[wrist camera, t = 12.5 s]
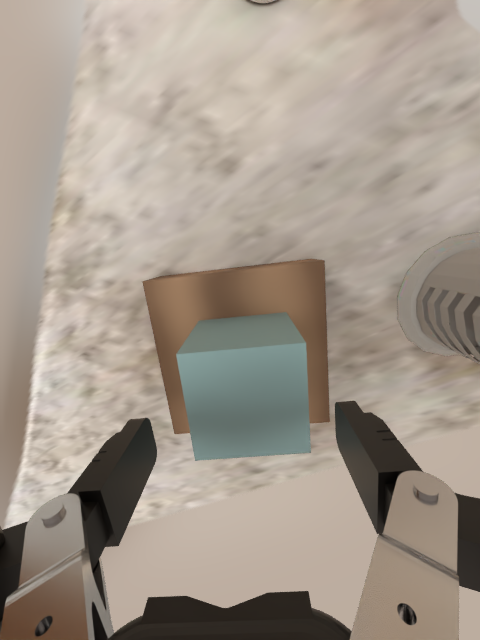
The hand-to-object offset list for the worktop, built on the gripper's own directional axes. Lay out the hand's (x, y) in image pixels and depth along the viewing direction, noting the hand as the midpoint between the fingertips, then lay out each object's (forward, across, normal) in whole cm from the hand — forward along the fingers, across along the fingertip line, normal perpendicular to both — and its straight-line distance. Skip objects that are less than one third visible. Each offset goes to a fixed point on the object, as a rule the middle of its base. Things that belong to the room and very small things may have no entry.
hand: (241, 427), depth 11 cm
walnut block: (+12, 0, 0) cm, 12 cm away
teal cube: (+8, 0, 0) cm, 8 cm away
